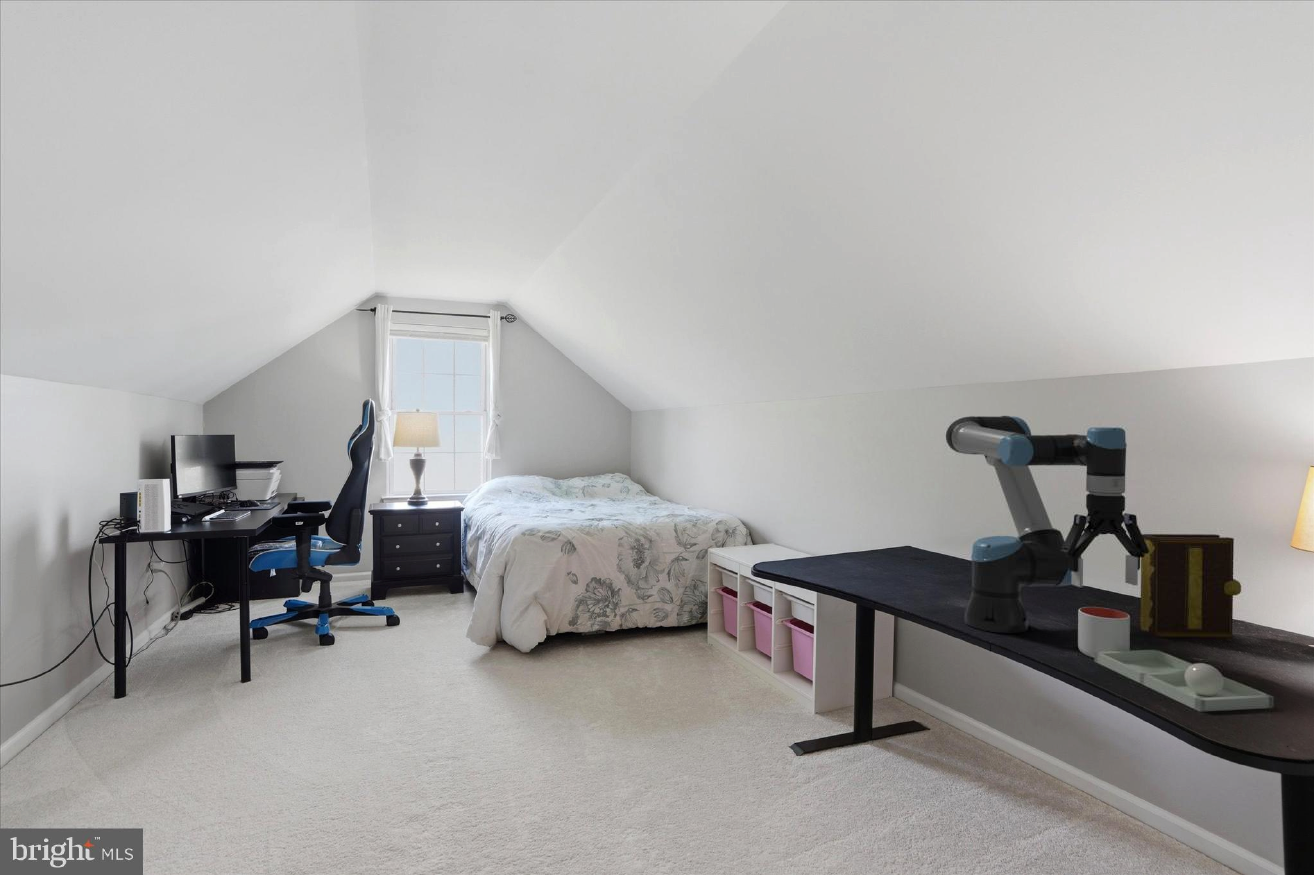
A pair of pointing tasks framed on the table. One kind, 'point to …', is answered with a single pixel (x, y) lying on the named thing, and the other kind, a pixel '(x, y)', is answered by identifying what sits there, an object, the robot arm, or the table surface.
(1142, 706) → the table surface
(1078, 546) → the robot arm
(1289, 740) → the table surface
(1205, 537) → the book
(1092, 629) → the cup
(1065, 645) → the table surface
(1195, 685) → the egg
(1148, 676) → the holder
